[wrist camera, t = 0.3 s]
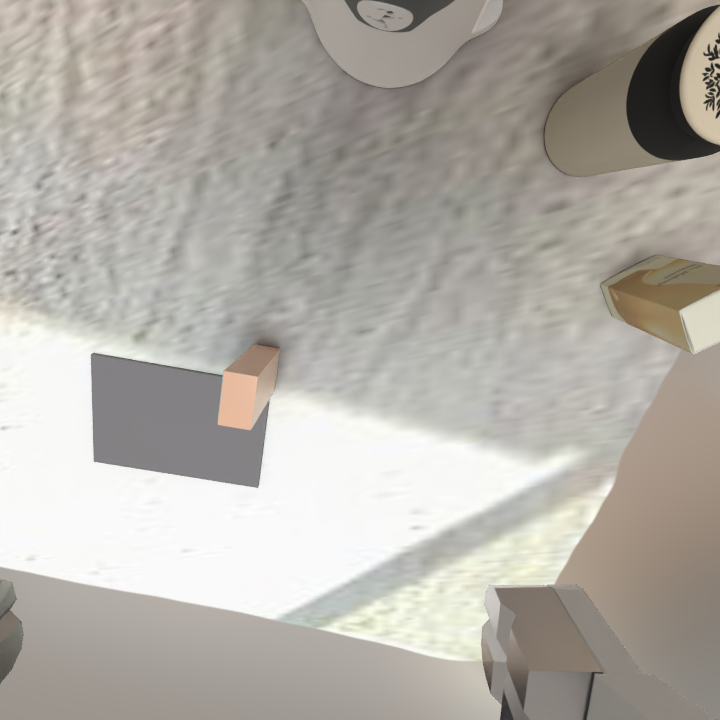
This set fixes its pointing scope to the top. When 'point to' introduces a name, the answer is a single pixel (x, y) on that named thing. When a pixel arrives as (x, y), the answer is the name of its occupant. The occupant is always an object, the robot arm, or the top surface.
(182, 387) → the mat
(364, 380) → the top surface
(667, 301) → the skincare box
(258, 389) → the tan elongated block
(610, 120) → the travel mug
